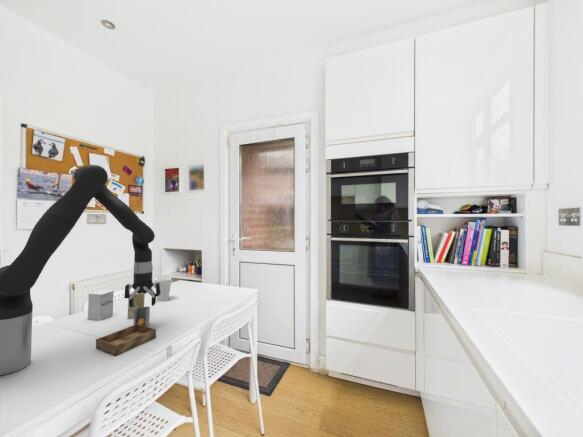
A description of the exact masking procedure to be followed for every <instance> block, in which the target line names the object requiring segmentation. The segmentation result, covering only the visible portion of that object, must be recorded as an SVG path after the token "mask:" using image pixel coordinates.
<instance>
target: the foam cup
mask: <svg viewBox="0 0 583 437" xmlns="http://www.w3.org/2000/svg"><path fill="white" fill-rule="evenodd" d="M158 282H160V295H159V296H157V297H156V302H166V301H168V300H169V297H170V292H171V285H172V277H171V276H162V277H160V276H159V277H156V278H154V283H158ZM154 289H155V290H156V288H155V287H154ZM165 300H166V301H165Z"/></svg>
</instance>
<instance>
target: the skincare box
mask: <svg viewBox="0 0 583 437" xmlns="http://www.w3.org/2000/svg"><path fill="white" fill-rule="evenodd" d="M133 292H134V291H131V292H130V293H129V295H132V293H133ZM145 295H146V293H141V294H138V293H137V294H136V295H135V296H134V297H133V298H134V306H133V307H131V306H129V299H128V302H127V304H128V305H127V320H128V319H134V311H135V310H136V309H137V308H138V307H145Z"/></svg>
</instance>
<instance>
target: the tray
mask: <svg viewBox="0 0 583 437" xmlns="http://www.w3.org/2000/svg"><path fill="white" fill-rule="evenodd" d="M156 338H157V328H154V327H150V326H143V325H140V324H136V325H134V324H133V325H131V326H128V327H124V328H123V329H120V330H117V331H115V332H112V333H110V334H106V335H104V336H102V337H101V336H100V337H99V338H96V339H95V350H99V351H101V352H104V353H107V354H108V355H109V354H110V355H112V356H115V357H117V356H119V355H122V354H123V353H125V352H128V351H129V350H132V349H134V348H136V347H138V346H141V345H143V344H145V343H147V342H149V341H151V340H154V339H156Z"/></svg>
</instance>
